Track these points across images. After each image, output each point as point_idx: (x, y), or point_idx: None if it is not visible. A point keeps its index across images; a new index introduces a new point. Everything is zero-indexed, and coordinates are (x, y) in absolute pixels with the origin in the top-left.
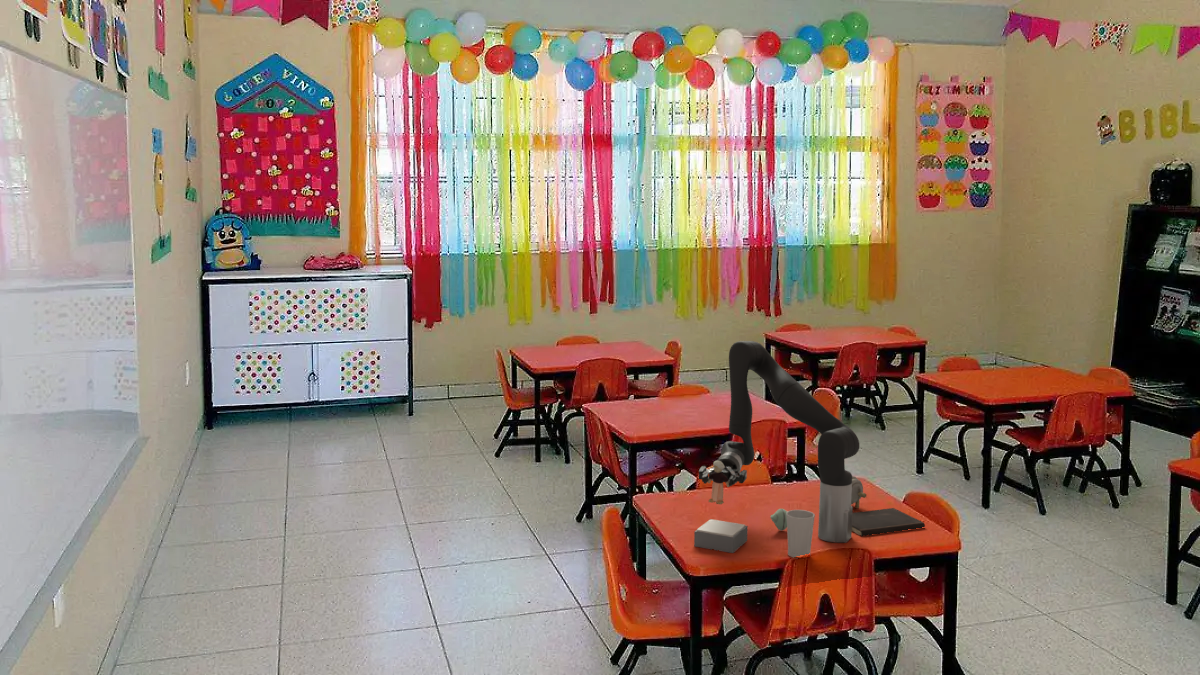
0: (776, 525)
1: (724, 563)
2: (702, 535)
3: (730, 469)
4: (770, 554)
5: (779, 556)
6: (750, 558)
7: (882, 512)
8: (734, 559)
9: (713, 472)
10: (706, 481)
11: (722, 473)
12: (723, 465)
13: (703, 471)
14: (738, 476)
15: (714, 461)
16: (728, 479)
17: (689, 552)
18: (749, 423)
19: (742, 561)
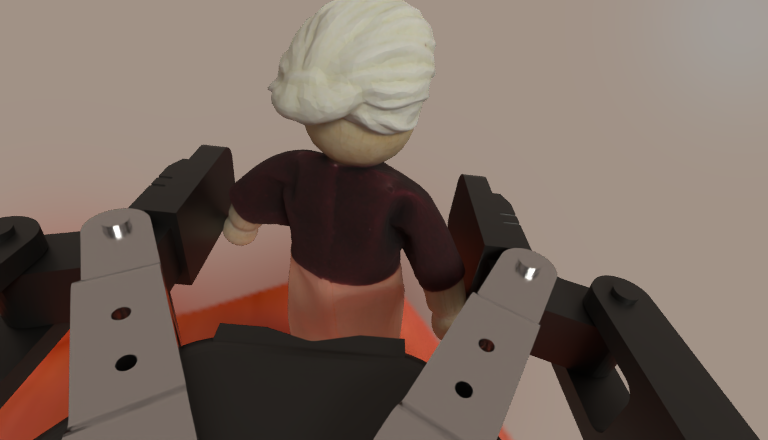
0: None
1: (285, 286)
2: None
3: (115, 373)
4: (66, 401)
5: (30, 385)
6: (181, 340)
7: None
8: (248, 321)
9: (414, 184)
10: (453, 233)
11: (300, 152)
12: (289, 47)
13: (615, 356)
14: (62, 249)
15: (427, 23)
16: (234, 183)
17: (417, 352)
18: None
19: (220, 309)
